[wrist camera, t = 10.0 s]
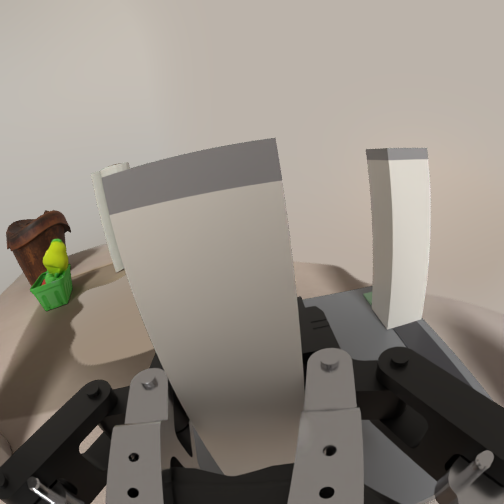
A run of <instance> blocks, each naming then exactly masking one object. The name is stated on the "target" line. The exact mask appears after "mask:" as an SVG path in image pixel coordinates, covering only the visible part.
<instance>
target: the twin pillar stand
mask: <svg viewBox="0 0 504 504" xmlns="http://www.w3.org/2000/svg"><path fill="white" fill-rule="evenodd" d="M366 155H367V164H368V173H369V183H370V194H371V210H372V232H373V286H369V287H365V288H360V289H355V290H350V291H345V292H340V293H335V294H330V295H325V296H320V297H314V298H309V299H303V303H304V306H305V308H306V307H311V306H316V307H318V308H319V309H321V310H322V311H323V312H324V314H325V316H326V318H327V320H328V322H329V324H330V327H331V329H332V331H333V333H334V335H335V337H336V340H337V342H338V344H339V346H340V348H341V350H344V351H346V352H347V353H348V354H349V355H350V356H351V358H352V359H356V360H363V361H367V360H378V358H379V356H380V354H381V353H382V352H383V351H385V350H386V349H389V348H392V347H406V348H409V349H412V350H413V351H415V352H417V353H418V354H420V355H421V356H423V357H425V358H426V359H428V360H429V361H431V362H432V363H434V364H436V365H437V366H439V367H440V368H442V369H443V370H445V371H447V372H448V373H450V374H451V375H453V376H454V377H456V378H458V379H459V380H461V381H462V382H464V383H465V384H467V385H469V386H470V387H472V388H473V389H475V390H476V391H478V392H480V393H481V394H483V395H484V396H486V397H487V398H489V399H491V397H490V396H489V395H488V394H487V392H486V391H485V390H484V388H483V387H482V386H481V385H480V383H479V382H478V381H477V380H476V378H475V377H474V376H473V375H472V374H471V372H470V371H469V370H468V369H467V368H466V366H465V365H464V364H463V363H462V362H461V360H460V359H459V358H458V357H457V356H456V355H455V354H454V352H453V351H452V350H451V349H450V348H449V347H448V346H447V344H446V343H445V342H444V341H443V340H442V339H441V338H440V337H439V336H438V335H437V333H436V332H435V331H434V330H433V329H432V328H431V327H430V326H429V325H428V324H427V323H426V322H425V321H424V320H423V318H422V313H423V306H424V300H425V292H426V284H427V275H428V265H429V251H430V229H431V227H430V226H431V198H430V176H429V163H428V152H427V148H385V149H366ZM491 400H492V399H491ZM492 401H493V400H492ZM361 422H362V438H363V461H364V484H365V485H367V486H369V487H371V488H372V489H374V490H376V491H378V492H380V493H381V494H383V495H385V496H387V497H389V498H391V499H393V500H395V501H397V502H399V503H401V504H425V503H427V502H429V501H431V500H433V499H435V495H434V490H435V486H436V483H437V481H436V480H435V479H434V478H432V477H431V476H430V475H429V474H428V473H427V472H425V471H424V470H423V469H422V468H421V467H420V466H418V465H417V464H416V463H415V462H414V461H413V460H412V459H411V458H409V457H408V456H407V455H406V454H405V453H404V452H403V451H402V450H400V449H399V448H398V447H397V446H396V445H395V444H394V443H393V442H392V441H391V440H389V439H388V438H387V437H386V436H385V435H384V434H383V433H382V432H381V431H380V430H379V429H378V428H377V427H375V426H374V425H373V424H372V423H371V422H370V420H361ZM193 432H194V440H195V447H196V455H197V461H198V465H199V467H200V470H204V471H208V472H213V473H217V474H222V475H224V473H223V472H222V471H221V469H220V468H219V466H218V465H217V463H216V462H215V460H214V459H213V457H212V456H211V454H210V452H209V451H208V449H207V448H206V446H205V445H204V443H203V441H202V440H201V438H200V436H199V435H198V433H197V431H196V430H195V428H194V426H193Z"/></svg>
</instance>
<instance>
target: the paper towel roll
mask: <svg viewBox="0 0 504 504" xmlns="http://www.w3.org/2000/svg"><path fill="white" fill-rule="evenodd" d="M127 169H130V167H129V163H120V164H115V165H112V166H109V167H107V168H104V169H102V170H101V171H99V172H95V173H91V177H92V182H93V187H94V192H95V197H96V201H97V205H98V210H99V214H100V218H101V222H102V226H103V230H104V234H105V237H106V241H107V245H108V248H109V251H110V255H111V258H112V261H113V264H114V268H115V271H116V272H118V271H120V270H122V269H124V266H123V263H122V259H121V256H120V253H119V249H118V246H117V242H116V239H115V235H114V231H113V227H112V223H111V219H110V215H109V211H108V207H107V202H106V198H105V193H104V189H103V184H102V177H105V176H108V175H111V174H114V173H117V172H120V171H124V170H127Z"/></svg>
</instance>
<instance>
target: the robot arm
mask: <svg viewBox="0 0 504 504" xmlns="http://www.w3.org/2000/svg"><path fill="white" fill-rule="evenodd" d="M297 304H298V314H299V325H300V336H301V348H302V360H303V374H304V389H305V398H304V408H303V410H302V411H301V416H300V424H299V432H298V440H297V447H296V455H295V461H294V463H289V464H282V465H274V466H270V467H266V468H263V469H260V470H256V471H253V472H249V473H245V474H242V475H238V476H227V475H222V474H217V473H213V472H208V471H204V470H200V467H199V465H198V461H197V455H196V447H195V440H194V432H193V424H192V423H191V421H190V419H189V417H188V416H187V414H186V412H185V410H184V408H183V407H182V405H181V403H180V401H179V399H178V397H177V395H176V393H175V391H174V389H173V387H172V385H171V383H170V381H169V379H168V377H167V375H166V373H165V371H164V369H163V367H162V365H161V362H160V360H159V358H158V356H157V353H155V356H154V358H153V360H152V363H151V365H150V368H149V369H146V370H143V371H141V372H139V373H138V374H137V375H135V376H134V378H133V379H132V381H131V384H130V386H128V387H123V388H118V389H114V390H113V389H112V388H111V386H110V385H109V383H108V382H106V381H104V380H95V381H91V382H89V383H87V384H86V385H85V386H83V387H82V388H81V389H80V390H79V391H78V392H77V393H76V394H75V395H74V396H73V397H72V398H71V399H70V400H69V401H68V402H66V403H65V404H64V405H63V406H62V407H61V408H60V409H59V410H58V411H57V412H56V413H55V414H54V415H53V416H52V417H51V418H50V419H49V420H48V421H47V422H46V423H44V424H43V425H42V426H41V427H40V428H39V429H38V430H37V431H36V432H35V433H34V434H33V435H32V436H31V437H30V438H29V439H28V440H27V441H26V442H25V443H24V444H23V445H22V446H21V447H20V448H19V449H18V450H17V451H16V452H15V453H14V454H13V455H12V453H11V449H10V445H9V443H8V442H7V440H6V439H5V438H4V436H3V435H2V434H1V433H0V499H1V500H2V501H3V502H5V503H6V504H90V503H91V502H92V501H93V500H94V499H95V498H96V496H97V495H98V494H99V493H100V492H101V490H102V489H103V488H104V487H105V486H106V484H107V487H106V504H401V503H399V502H397V501H395V500H393V499H391V498H389V497H387V496H385V495H383V494H381V493H380V492H378V491H376V490H374V489H372V488H371V487H369V486H367V485H365V484H364V461H363V438H362V422H361V420H370V422H371V423H372V424H373V425H374V426H375V427H377V428H378V429H379V430H380V431H381V432H382V433H383V434H384V435H385V436H386V437H387V438H388V439H389V440H391V441H392V442H393V443H394V444H395V445H396V446H397V447H398V448H399V449H400V450H402V451H403V452H404V453H405V454H406V455H407V456H408V457H409V458H411V459H412V460H413V461H414V462H415V463H416V464H417V465H418V466H420V467H421V468H422V469H423V470H424V471H425V472H427V473H428V474H429V475H430V476H431V477H432V478H434V479H435V480H436V481H437V483H436V486H435V490H434V495H435V499H436V501H437V502H438V503H439V504H503V503H504V408H503V407H502V406H500V405H498V404H497V403H495V402H494V401H492V400H491V399H489V398H487V397H486V396H484V395H483V394H481V393H480V392H478V391H476V390H475V389H473V388H472V387H470V386H469V385H467V384H465V383H464V382H462V381H461V380H459V379H458V378H456V377H454V376H453V375H451V374H450V373H448V372H447V371H445V370H443V369H442V368H440V367H439V366H437V365H436V364H434V363H432V362H431V361H429V360H428V359H426V358H425V357H423V356H421V355H420V354H418V353H417V352H415V351H413V350H412V349H409V348H406V347H392V348H389V349H386V350H385V351H383V352H382V353H381V354H380V356H379V358H378V360H367V361H363V360H356V359H352V358H351V356H350V355H349V354H348V353H347V352H346V351H344V350H341V348H340V346H339V344H338V342H337V340H336V337H335V335H334V333H333V331H332V329H331V327H330V324H329V322H328V320H327V318H326V316H325V314H324V312H323V311H322V310H321V309H319V308H318V307H316V306H311V307H306V308H305V306H304V303H303V300H302V298H301V296H300V297H297ZM97 425H98V426H99V427H100V428H101V429H102V430H103V431H104V432H103V433H102V434H101V435H100V437H99V438H98V439H97V440H96V441H95V442H94V443H93V444H92V445H91V446H90V448H89V449H88V450H87V451H86V452H85V453H83V454H80V452H79V445H80V443H81V442H82V441H83V440H84V439H85V438H86V437H87V436H88V435H89V434H90V432H91V431H92V430H93V429H94V428H95V427H96V426H97Z"/></svg>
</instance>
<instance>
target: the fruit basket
mask: <svg viewBox="0 0 504 504" xmlns="http://www.w3.org/2000/svg"><path fill="white" fill-rule="evenodd" d="M43 264H44V266H45V267H46V268H47V271H46V272H44V273H42V274H41V275H40V276H39V278H38V279H37V280H36V282H35V283H34V284H33V286H32V287H31V288H30V291H31V292H32V294H34V295H35V297H36V298H37V299H38V301H39V302H40V304H41V305H42V306H43V308H44V309H45V310H46V311H48V310H50V309H54V308H57V307H59V306H62V305H65V304H68V301H69V298H70V294H71V291H72V281H71V273H70V269H71V268H70V264H68V256H67V253H66V246H65V244H64V243H63V242H62V240H60V239H54V240H53V241H52V242H51V245H50V247H49V249H48V250H47V251H46V253H45V256H44V257H43Z"/></svg>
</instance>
